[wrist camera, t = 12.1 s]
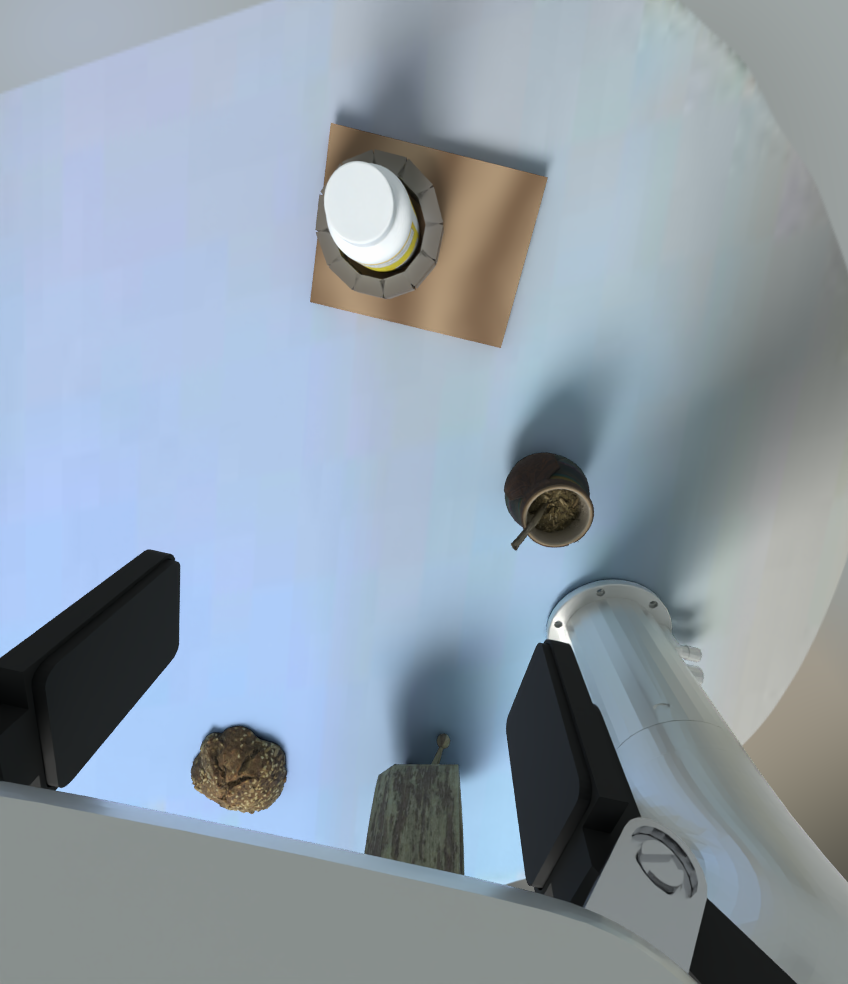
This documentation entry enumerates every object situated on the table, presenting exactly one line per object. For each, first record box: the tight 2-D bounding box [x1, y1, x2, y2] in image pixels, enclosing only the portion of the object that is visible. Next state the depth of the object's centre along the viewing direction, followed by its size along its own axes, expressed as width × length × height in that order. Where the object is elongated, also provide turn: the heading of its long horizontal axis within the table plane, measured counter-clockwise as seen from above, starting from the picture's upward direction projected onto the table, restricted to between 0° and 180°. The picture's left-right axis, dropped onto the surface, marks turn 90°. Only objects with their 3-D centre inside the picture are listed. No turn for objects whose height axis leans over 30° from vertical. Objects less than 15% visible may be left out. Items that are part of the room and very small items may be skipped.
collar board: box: [310, 123, 548, 348], centre depth 33 cm, size 16×12×4 cm
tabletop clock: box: [364, 734, 464, 875], centre depth 44 cm, size 14×9×25 cm, turn 4°
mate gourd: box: [504, 452, 594, 550], centre depth 37 cm, size 7×8×10 cm
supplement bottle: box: [324, 161, 420, 273], centre depth 29 cm, size 5×5×10 cm
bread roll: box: [191, 726, 287, 814], centre depth 56 cm, size 13×12×5 cm
